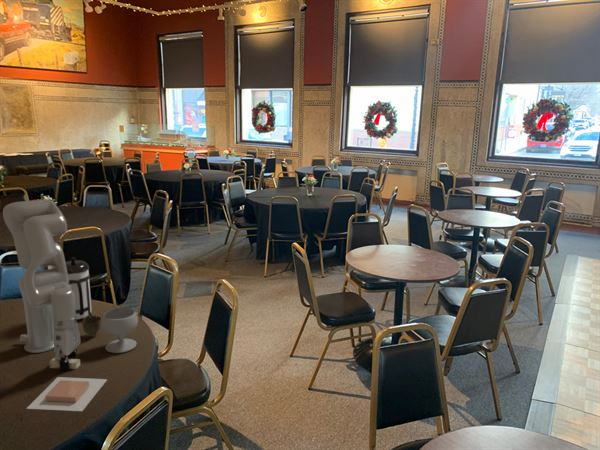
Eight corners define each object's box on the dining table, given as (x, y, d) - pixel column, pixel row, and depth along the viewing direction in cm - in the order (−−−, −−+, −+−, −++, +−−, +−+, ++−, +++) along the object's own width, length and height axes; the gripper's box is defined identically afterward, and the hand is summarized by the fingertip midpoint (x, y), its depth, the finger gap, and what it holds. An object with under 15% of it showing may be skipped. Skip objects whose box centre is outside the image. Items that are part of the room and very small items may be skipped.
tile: (60, 385, 154) (45, 401, 145) (60, 380, 153) (45, 395, 145) (89, 387, 154) (76, 403, 145) (89, 381, 153) (75, 397, 144)
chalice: (135, 354, 179) (133, 320, 175) (99, 356, 177) (96, 321, 173) (141, 337, 192) (140, 305, 189) (107, 339, 190) (105, 306, 187)
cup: (87, 332, 196) (85, 315, 194) (104, 331, 196) (103, 315, 195) (80, 340, 189) (78, 322, 187) (98, 340, 189) (97, 322, 187)
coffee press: (50, 323, 202) (44, 260, 196) (75, 309, 218) (70, 251, 211) (83, 328, 199) (78, 264, 192) (106, 314, 214) (102, 254, 207)
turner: (48, 373, 164) (47, 363, 163) (56, 365, 169) (55, 356, 168) (93, 375, 163) (92, 365, 162) (100, 367, 168) (99, 358, 168)
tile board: (26, 412, 142) (26, 408, 141) (58, 380, 159) (57, 377, 159) (82, 415, 141) (82, 411, 141) (107, 383, 159) (107, 379, 159)
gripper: (62, 333, 153) (66, 380, 157) (86, 312, 170) (89, 355, 174) (40, 332, 153) (45, 379, 158) (67, 311, 170) (70, 354, 174)
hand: (68, 366), depth 166 cm, fingers open, 4 cm apart
